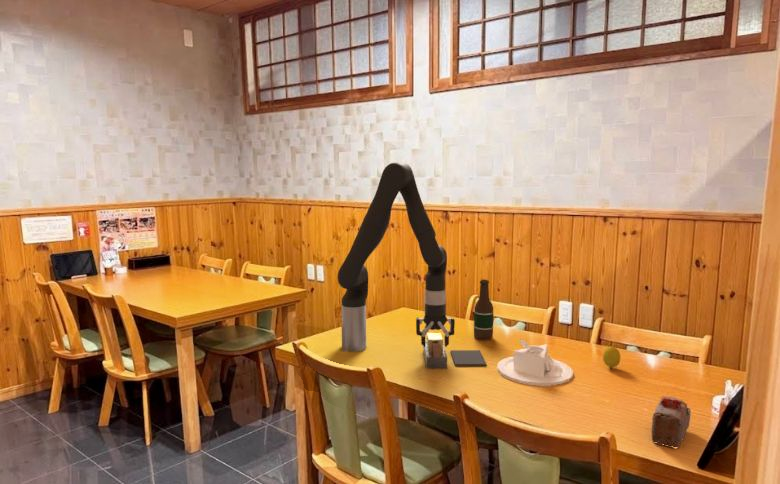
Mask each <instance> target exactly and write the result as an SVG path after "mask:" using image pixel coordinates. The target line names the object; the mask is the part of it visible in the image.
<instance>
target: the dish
mask: <svg viewBox="0 0 780 484" xmlns="http://www.w3.org/2000/svg"><path fill="white" fill-rule="evenodd" d="M519 342H520V344H521V346H523V347H524V348H521V349H515V350H513V356H508V357H505V358H503V359H501V360H500V361H498V362H497V372H498V373H499V374H500V375H501V377H504V378H506V379H508V380H509V381H513V382H516V383H519V384H522V385H528V386H537V387H539V386H540V387H551V385H553V386H558V385H557V384H560V385H563V384H562V383H564V382H566V383H567V381H568V382H570V381H571V380H572V379H573V377H574V372H573V369H572V368H571V367H570V366H569V365H568V364H566V363H565V362H562V361H559V360H557V359H554V358H552V357H551V356H550V355H548V343H545V344H541V345H535V344H533V345H529V343H528V342H527V341H525V339H519ZM571 378H572V379H571ZM570 379H571V380H570ZM569 380H570V381H569ZM564 384H565V383H564Z"/></svg>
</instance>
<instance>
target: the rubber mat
mask: <svg viewBox="0 0 780 484" xmlns="http://www.w3.org/2000/svg"><path fill="white" fill-rule="evenodd" d="M449 353H450V355H451V358H452V361H453V365H454V366H455V367H487V365H488V364H487V362H486V360H485V358H484V356H483V354H482V352H481V350H479V349H478V350H477V349H475V350H474V349H472V350H470V349H469V350H468V349H467V350H466V349H465V350H463V349H461V350H460V349H459V350H457V349H455V350H452V349H451V350H450V352H449Z"/></svg>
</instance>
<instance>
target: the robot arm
mask: <svg viewBox="0 0 780 484" xmlns="http://www.w3.org/2000/svg"><path fill="white" fill-rule="evenodd" d="M399 193H400V195H401V197H402V199H403V202H404V205H405V208H406V212H407V218H408V222H409V225H410V227H411V230H412V232H413V234H414V236H415V238H416V240H417V242H418V247H419V250H420V254H421V257H422V259H423V261H424V263H425V264H426V265H427V273H426V276H425V290H424V291H425V292H424V316H423V317H416V318H415V329H416V330H415V333H416V336H419V337H420V343H421V345H422V346H423V348H424V347H425V341H426V336H427V333H429V331H430V330H431V331H435V330H436V331H437V330H438V331H440V330H441V331H442V332H443V333H444V348H445V347H446V348H447V347H448V346H449V344H450V337H451V336H454V335H455V327H456V326H455V325H456V324H455V322H456V321H455V318H454V317H453V316H452V317H447V310H446V309H447V295H446V271H447V264H448V254H447V250H446V249H445V248H444V247H443V246H441V245H439V243H438V241H437V239H436V231H435V228H434V226H433V224H432V222H431V219H430V218H429V216H428V214H427V211H426V208H425V206H424V204H423V201H422V199H421V196H420V193H419V189H418V185H417V182H416V178H415V175H414V172H413V169H412V167H411V166H410V165H409V164H408V163H407V162H404V161H403V162H401V161H397V162H396V161H395V162H391V163H389V164H387V165H386V166H385V167H384V169H383V171H382V173H381V175H380V179H379V182H378V185H377V189H376V192H375V194H374V197H373V199H372V201H371V203H370V205H369V207H368V209H367V212H366V213H365V215H364V217H363V220H362V222H361V224H360V226H359V229H358V231H357V234H356V236H355V238H354V240H353V242H352V246H351V247H350V250H349V252H348V254H347V255H346V257H345V259H344V261H343V263H342V264H341V266H340V268H339V269H338V272H337V281H338V284H339V286H340V287H341V288H342V289H345V290H346V291H345V292H344V295H343V296H342V297H341V351H346V352H351V353H352V352H361V351H364V350H366V349H367V299H368V295H369V272H368V268H367V267H366V265H365V263H366V261H367V260H368V258H369V257H370V256H371V255H372V253H374V251H375V250H376V248H377V247H378V246H379V245H380V243H381V241H382V240H383V238H384V236H385V234H386V232H387V230H388V228H389V224H390V221H391V214H392V208H393V204H394V202H395V200H396V199H397V196H398V195H399ZM423 323H424V325H425V326H424V328H423V329H422V331H421V327H420V326H421V325H422V324H423ZM446 323H448V324H449V325H450V326H449V329H450V330H448V329H447V328H446V326H445V324H446Z"/></svg>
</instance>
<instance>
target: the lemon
mask: <svg viewBox="0 0 780 484" xmlns="http://www.w3.org/2000/svg"><path fill="white" fill-rule="evenodd" d="M602 361H603V363H604V364H605V366H607V367H608V368H609V369H613V368H616V367H618V365H620V362H621V353H620V351H619V349H618V348H617V347H615V346H614V345H610V346H608V347H607V348H605V349H604V351H603V354H602Z"/></svg>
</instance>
